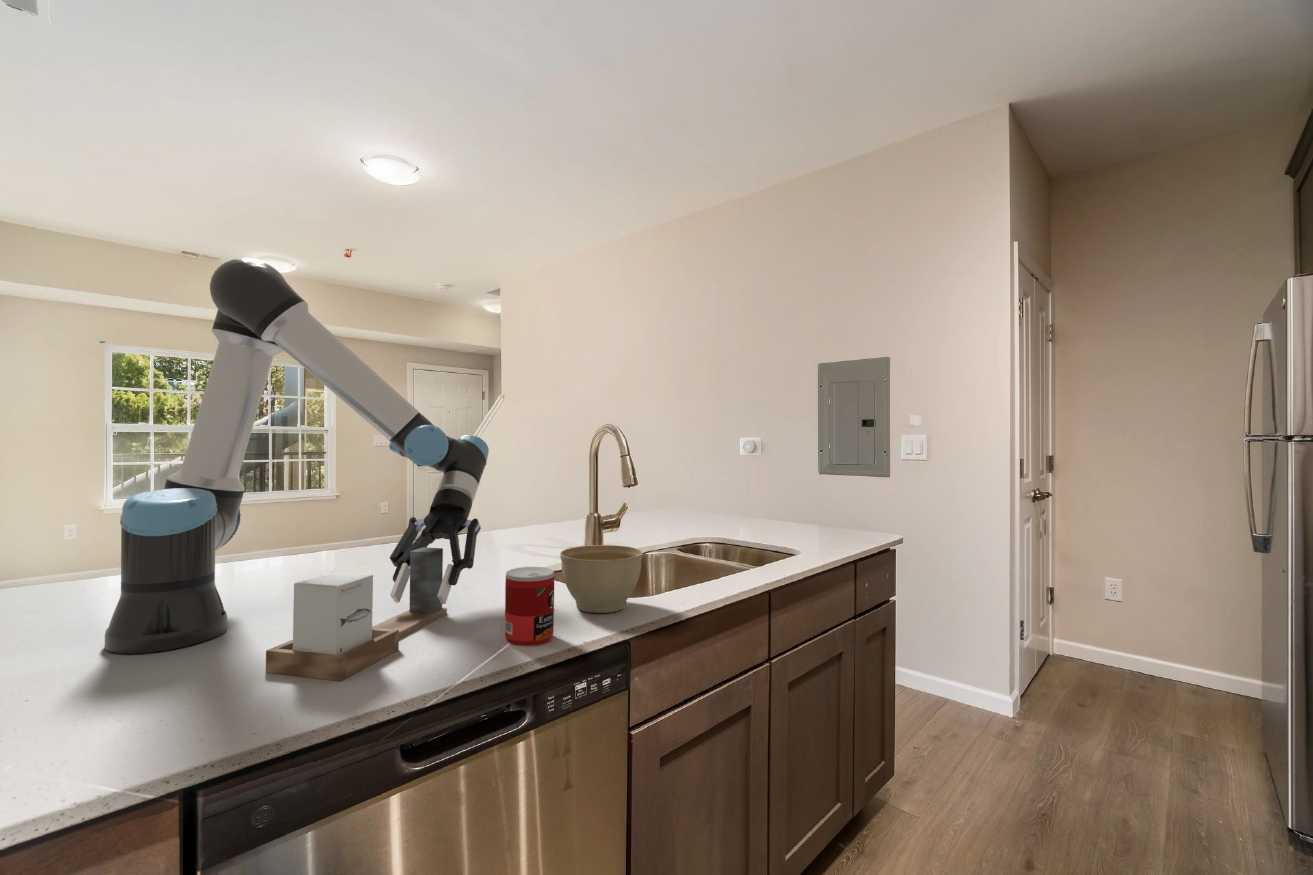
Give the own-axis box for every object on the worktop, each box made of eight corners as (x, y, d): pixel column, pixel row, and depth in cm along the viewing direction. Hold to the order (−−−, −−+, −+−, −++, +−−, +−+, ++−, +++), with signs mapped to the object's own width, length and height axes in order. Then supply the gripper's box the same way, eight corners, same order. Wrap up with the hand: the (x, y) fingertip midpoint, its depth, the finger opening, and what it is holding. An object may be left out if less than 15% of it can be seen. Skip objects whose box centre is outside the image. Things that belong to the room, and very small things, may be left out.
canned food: (542, 648, 91) (543, 578, 91) (495, 644, 93) (496, 575, 93) (560, 632, 99) (561, 568, 99) (516, 629, 100) (517, 565, 100)
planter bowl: (655, 601, 118) (656, 548, 118) (618, 624, 103) (618, 563, 103) (586, 592, 125) (587, 541, 125) (542, 612, 110) (543, 554, 110)
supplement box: (335, 678, 79) (337, 585, 79) (290, 673, 81) (291, 582, 81) (373, 658, 86) (375, 573, 86) (331, 653, 88) (332, 570, 88)
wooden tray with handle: (265, 672, 80) (266, 585, 80) (403, 609, 110) (404, 546, 110) (340, 681, 78) (341, 591, 78) (461, 614, 107) (462, 549, 107)
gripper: (507, 510, 121) (480, 611, 105) (410, 509, 122) (368, 608, 106) (500, 487, 116) (470, 589, 100) (398, 485, 117) (352, 586, 101)
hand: (418, 599), depth 103 cm, fingers open, 8 cm apart
